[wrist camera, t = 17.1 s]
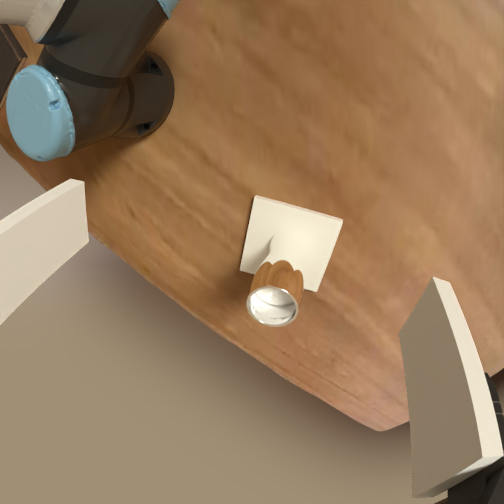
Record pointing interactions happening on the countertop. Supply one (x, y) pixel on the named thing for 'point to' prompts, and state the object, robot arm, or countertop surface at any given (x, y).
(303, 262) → the mat
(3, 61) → the hardcover book
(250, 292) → the beer glass
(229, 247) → the countertop surface
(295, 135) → the countertop surface
